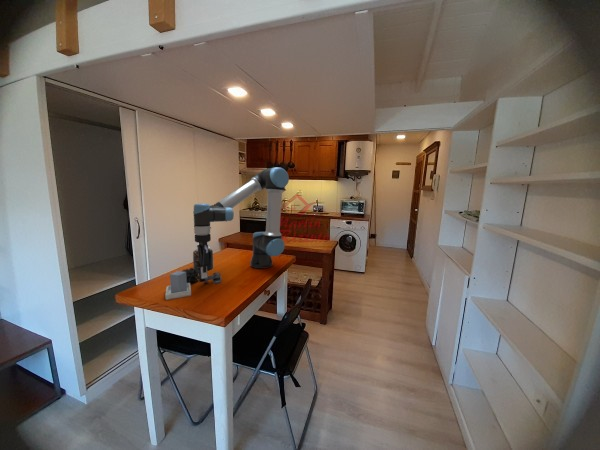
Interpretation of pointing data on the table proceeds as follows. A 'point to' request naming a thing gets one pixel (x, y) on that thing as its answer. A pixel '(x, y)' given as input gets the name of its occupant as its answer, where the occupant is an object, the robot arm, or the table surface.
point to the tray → (178, 294)
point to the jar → (196, 259)
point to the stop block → (178, 282)
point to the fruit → (191, 275)
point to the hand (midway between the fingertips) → (204, 277)
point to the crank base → (213, 281)
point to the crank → (215, 276)
